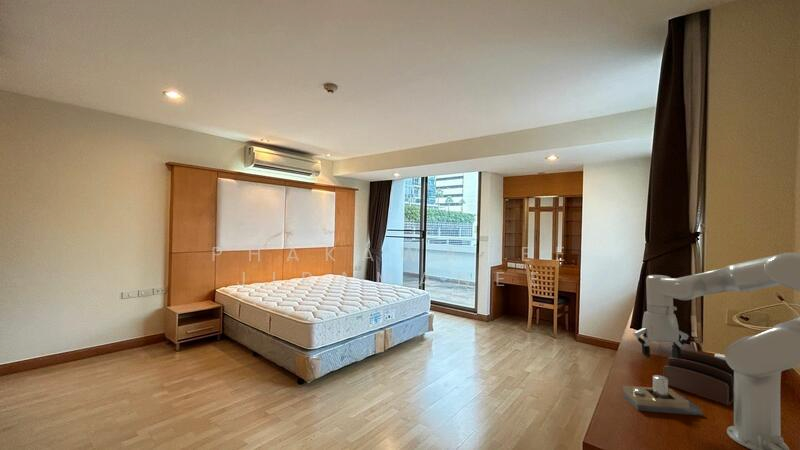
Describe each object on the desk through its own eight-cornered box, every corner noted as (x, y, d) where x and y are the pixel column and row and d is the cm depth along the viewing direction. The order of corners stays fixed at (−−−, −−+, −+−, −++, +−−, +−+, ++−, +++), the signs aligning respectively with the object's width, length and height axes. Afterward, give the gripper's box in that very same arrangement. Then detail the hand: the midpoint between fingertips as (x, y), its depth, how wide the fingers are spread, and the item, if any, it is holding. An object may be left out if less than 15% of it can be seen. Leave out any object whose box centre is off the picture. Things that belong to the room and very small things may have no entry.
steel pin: (671, 409, 117) (671, 381, 117) (657, 407, 117) (657, 380, 117) (663, 402, 121) (663, 375, 121) (650, 401, 122) (650, 374, 122)
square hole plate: (682, 400, 122) (682, 386, 122) (701, 415, 112) (701, 401, 112) (623, 395, 126) (623, 382, 126) (637, 410, 116) (637, 396, 116)
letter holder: (672, 378, 140) (672, 345, 140) (737, 398, 123) (737, 361, 123) (662, 384, 135) (662, 350, 135) (729, 406, 118) (728, 367, 118)
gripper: (679, 307, 121) (681, 353, 121) (628, 306, 124) (629, 351, 124) (694, 312, 114) (695, 362, 114) (639, 311, 117) (640, 359, 117)
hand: (661, 356), depth 119 cm, fingers open, 9 cm apart
